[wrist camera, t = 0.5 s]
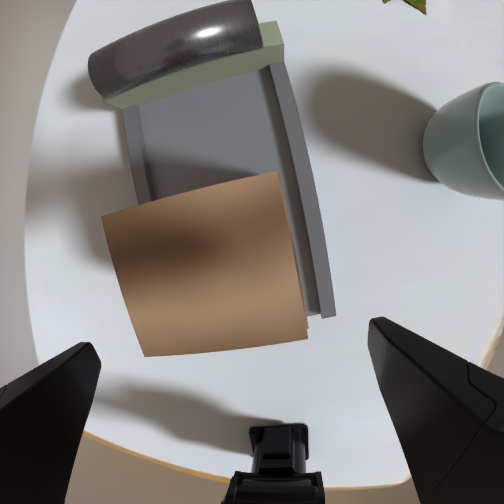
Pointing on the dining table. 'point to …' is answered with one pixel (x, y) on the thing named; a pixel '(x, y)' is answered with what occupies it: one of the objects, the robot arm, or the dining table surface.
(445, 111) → the cup
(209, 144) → the bay
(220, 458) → the dining table surface
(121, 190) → the dining table surface
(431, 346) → the robot arm
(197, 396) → the dining table surface
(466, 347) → the dining table surface
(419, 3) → the lily flower
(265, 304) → the brown wooden block
